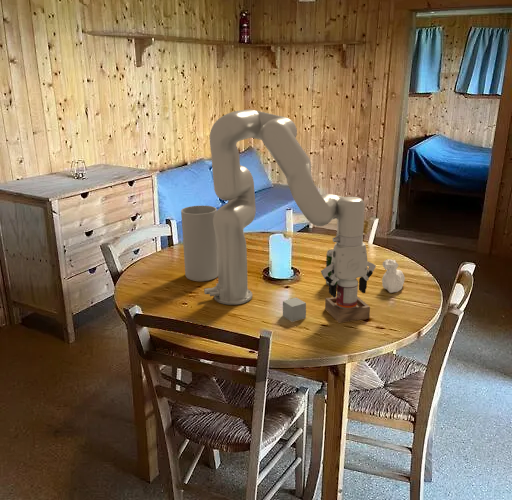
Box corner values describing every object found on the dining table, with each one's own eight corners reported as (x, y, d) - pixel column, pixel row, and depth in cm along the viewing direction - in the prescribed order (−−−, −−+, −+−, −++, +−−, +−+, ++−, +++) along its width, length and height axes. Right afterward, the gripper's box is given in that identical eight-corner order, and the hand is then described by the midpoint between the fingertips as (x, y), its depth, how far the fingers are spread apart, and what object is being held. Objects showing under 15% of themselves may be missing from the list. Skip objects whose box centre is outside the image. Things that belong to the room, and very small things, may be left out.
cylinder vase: (216, 268, 200) (213, 204, 192) (222, 280, 188) (219, 212, 180) (183, 271, 197) (179, 207, 189) (187, 283, 185) (183, 215, 177)
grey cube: (292, 322, 155) (292, 306, 154) (282, 316, 159) (282, 301, 158) (305, 318, 158) (306, 303, 156) (296, 312, 162) (296, 297, 160)
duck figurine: (398, 288, 183) (382, 261, 184) (416, 280, 178) (398, 251, 179) (383, 300, 174) (365, 270, 175) (400, 291, 169) (382, 261, 170)
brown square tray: (338, 322, 154) (339, 311, 153) (325, 309, 163) (325, 298, 162) (369, 318, 157) (369, 306, 155) (354, 304, 166) (354, 294, 165)
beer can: (332, 288, 179) (333, 255, 175) (322, 283, 183) (323, 251, 179) (344, 284, 182) (345, 252, 178) (334, 280, 186) (335, 248, 182)
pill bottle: (334, 302, 162) (335, 268, 158) (353, 301, 162) (355, 267, 159) (339, 311, 156) (340, 275, 152) (359, 309, 156) (361, 274, 153)
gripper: (327, 246, 147) (326, 302, 152) (382, 240, 151) (379, 294, 157) (317, 239, 154) (316, 292, 159) (370, 233, 158) (367, 285, 163)
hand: (347, 293), depth 158 cm, fingers open, 9 cm apart
